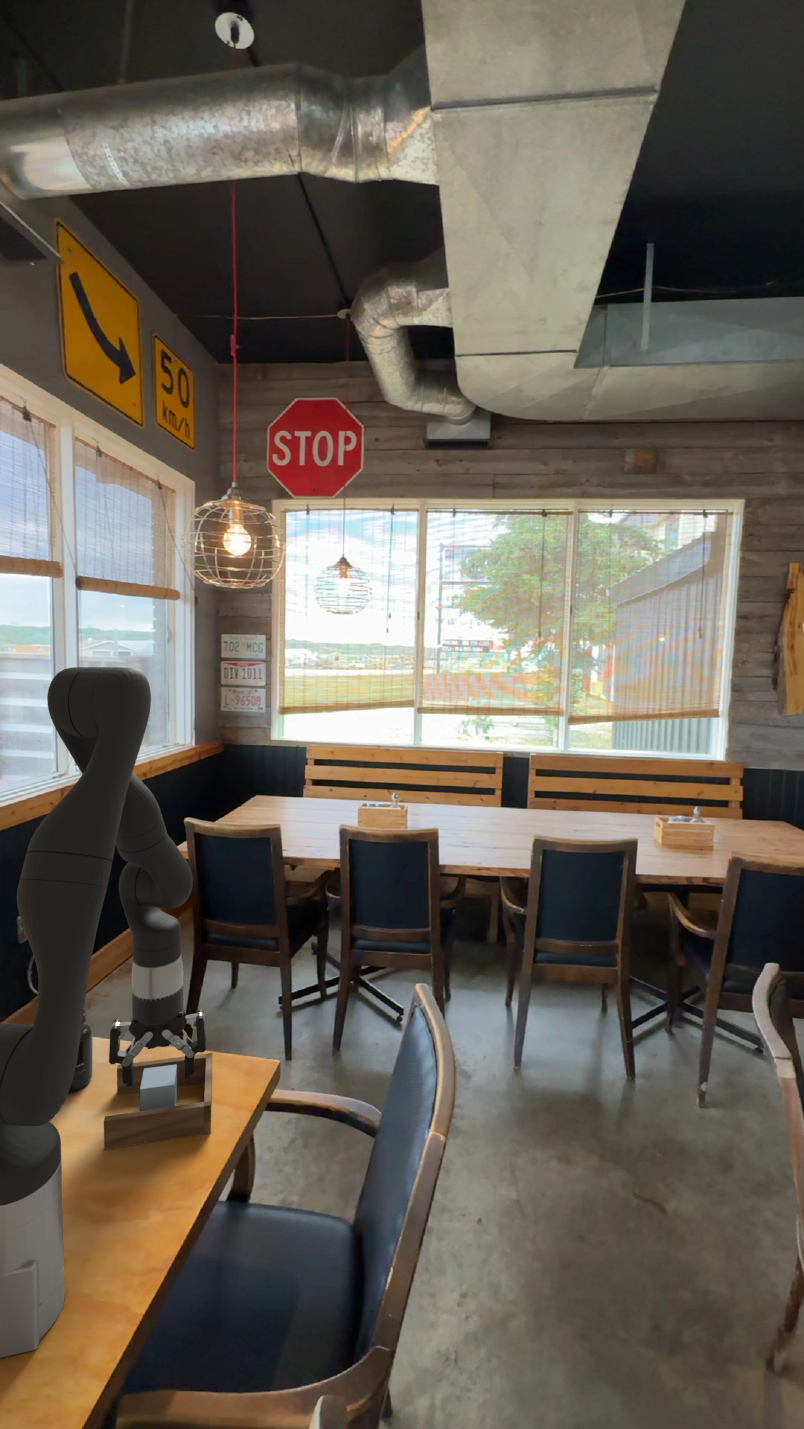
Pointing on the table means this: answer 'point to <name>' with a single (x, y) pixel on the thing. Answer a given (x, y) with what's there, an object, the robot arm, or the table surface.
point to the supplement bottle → (83, 1058)
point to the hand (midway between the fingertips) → (159, 1079)
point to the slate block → (158, 1087)
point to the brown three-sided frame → (162, 1120)
